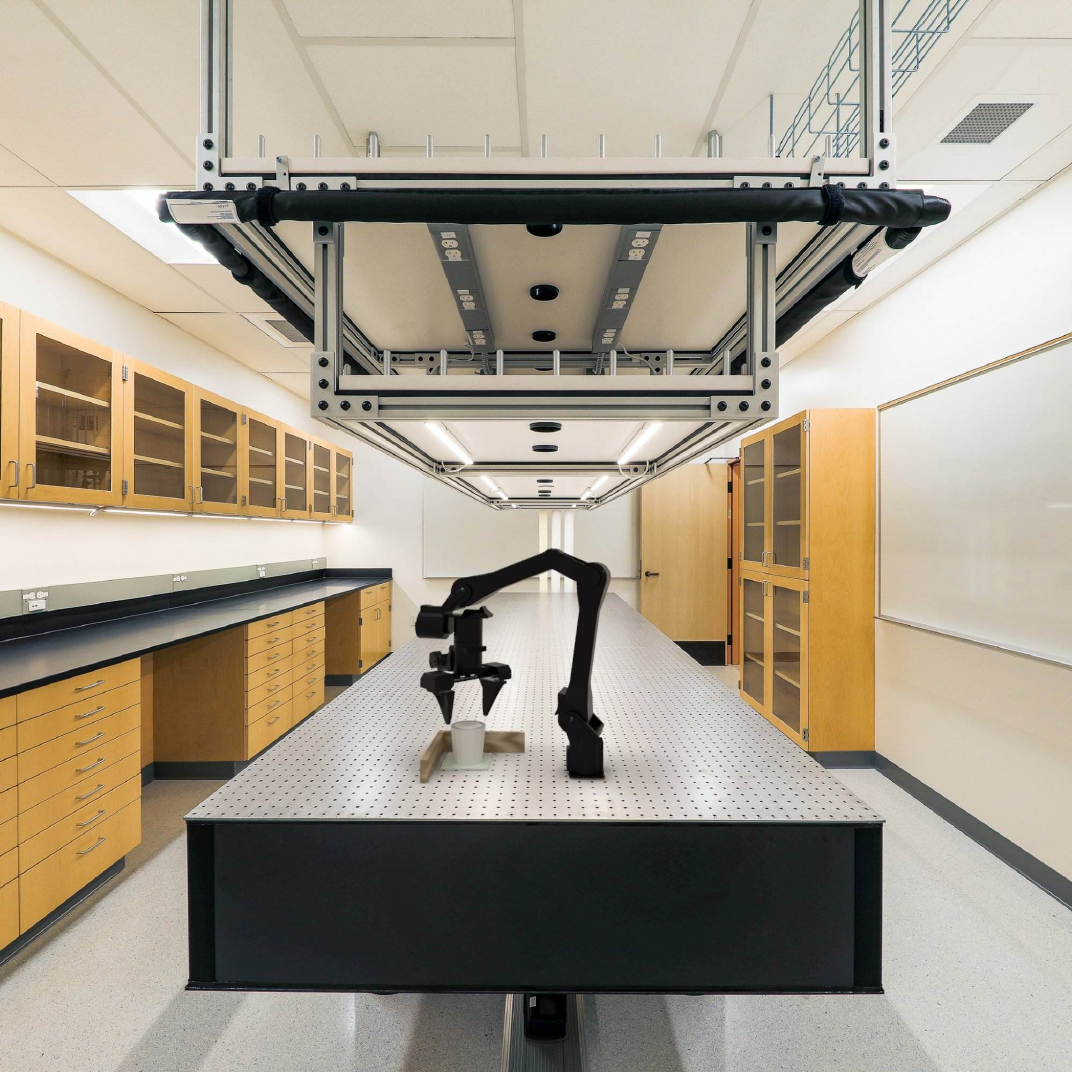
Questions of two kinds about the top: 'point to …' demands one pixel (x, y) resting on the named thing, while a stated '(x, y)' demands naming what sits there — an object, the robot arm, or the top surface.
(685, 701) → the top surface
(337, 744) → the top surface
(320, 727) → the top surface
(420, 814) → the top surface
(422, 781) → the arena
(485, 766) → the pad
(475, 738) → the white cup
